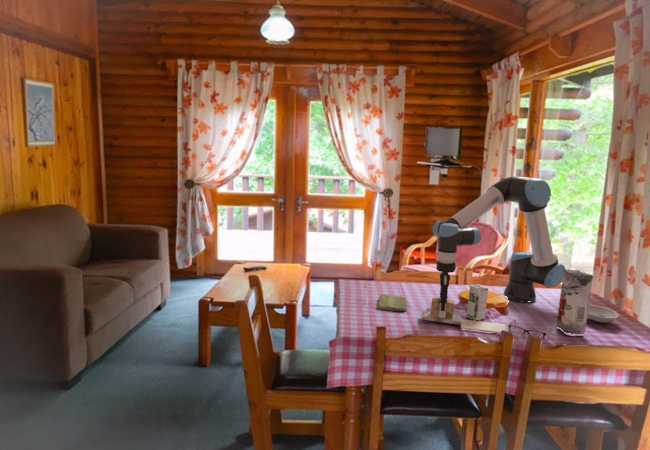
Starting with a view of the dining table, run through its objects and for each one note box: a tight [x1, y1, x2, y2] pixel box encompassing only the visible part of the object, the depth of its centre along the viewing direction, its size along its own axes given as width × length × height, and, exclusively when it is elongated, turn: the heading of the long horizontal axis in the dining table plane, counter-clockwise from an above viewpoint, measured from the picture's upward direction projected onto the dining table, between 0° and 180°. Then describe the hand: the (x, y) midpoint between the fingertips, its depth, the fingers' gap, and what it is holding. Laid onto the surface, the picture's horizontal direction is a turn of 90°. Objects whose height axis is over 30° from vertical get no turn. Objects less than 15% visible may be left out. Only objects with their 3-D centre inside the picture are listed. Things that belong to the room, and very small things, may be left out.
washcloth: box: [377, 293, 407, 313], centre depth 234 cm, size 13×18×3 cm
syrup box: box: [466, 283, 489, 321], centre depth 221 cm, size 6×6×14 cm
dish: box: [587, 304, 620, 323], centre depth 225 cm, size 18×14×5 cm
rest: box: [460, 318, 508, 333], centre depth 210 cm, size 18×10×1 cm, turn 78°
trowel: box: [421, 296, 461, 325], centre depth 214 cm, size 16×8×8 cm, turn 78°
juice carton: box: [556, 267, 594, 335], centre depth 208 cm, size 9×10×27 cm
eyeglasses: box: [507, 319, 552, 339], centre depth 208 cm, size 14×14×4 cm
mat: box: [426, 308, 464, 316], centre depth 225 cm, size 16×11×1 cm
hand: (441, 315), depth 214 cm, fingers closed on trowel, 4 cm apart
